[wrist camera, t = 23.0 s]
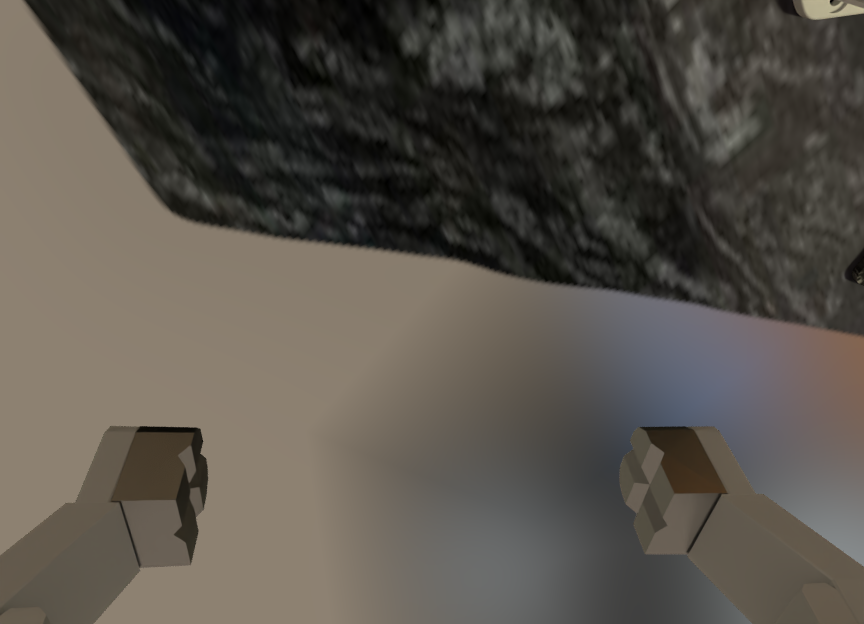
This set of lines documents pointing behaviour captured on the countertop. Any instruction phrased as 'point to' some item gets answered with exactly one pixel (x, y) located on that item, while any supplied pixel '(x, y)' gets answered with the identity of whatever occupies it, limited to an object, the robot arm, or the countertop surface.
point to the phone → (859, 272)
